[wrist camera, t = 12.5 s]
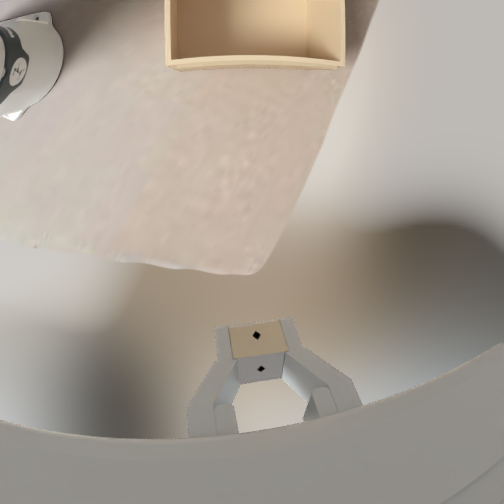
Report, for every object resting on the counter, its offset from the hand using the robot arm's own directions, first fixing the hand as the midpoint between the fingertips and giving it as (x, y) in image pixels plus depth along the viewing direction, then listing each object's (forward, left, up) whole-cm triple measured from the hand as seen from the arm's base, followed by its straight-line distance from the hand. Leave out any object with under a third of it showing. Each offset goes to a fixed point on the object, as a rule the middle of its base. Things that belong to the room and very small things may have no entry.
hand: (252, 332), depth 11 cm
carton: (-3, +19, -37) cm, 42 cm away
